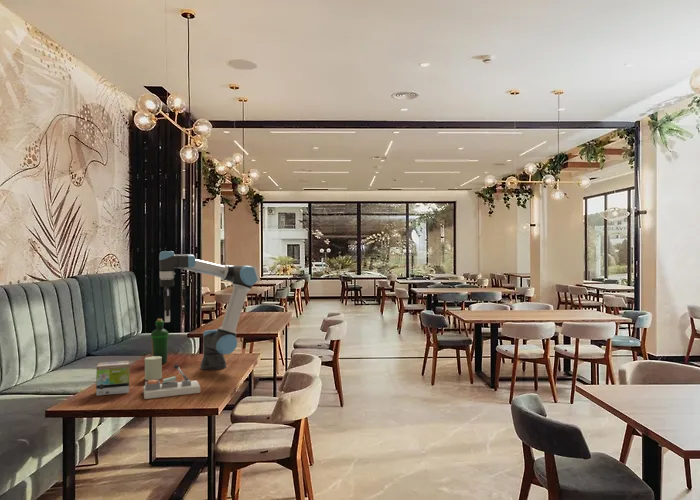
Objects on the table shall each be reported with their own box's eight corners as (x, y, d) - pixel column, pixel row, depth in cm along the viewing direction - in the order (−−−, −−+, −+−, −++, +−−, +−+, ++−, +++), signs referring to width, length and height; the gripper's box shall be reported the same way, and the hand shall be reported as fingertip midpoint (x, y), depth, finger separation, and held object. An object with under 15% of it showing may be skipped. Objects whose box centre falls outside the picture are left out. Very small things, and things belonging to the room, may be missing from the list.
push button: (157, 385, 257) (157, 379, 257) (157, 387, 252) (157, 381, 252) (147, 386, 255) (147, 380, 255) (147, 388, 250) (147, 382, 250)
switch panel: (196, 385, 269) (196, 374, 269) (200, 392, 256) (200, 380, 256) (143, 391, 258) (143, 380, 258) (144, 399, 245) (144, 386, 245)
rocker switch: (175, 378, 260) (175, 375, 260) (176, 379, 256) (175, 377, 256) (163, 381, 257) (162, 379, 257) (163, 383, 254) (163, 380, 254)
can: (156, 380, 281) (155, 358, 281) (141, 380, 283) (140, 358, 283) (165, 376, 290) (165, 355, 290) (150, 376, 292) (150, 355, 292)
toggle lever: (188, 377, 262) (176, 363, 259) (189, 378, 259) (177, 363, 257) (185, 380, 261) (172, 365, 259) (185, 381, 259) (173, 366, 256)
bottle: (162, 360, 335) (162, 317, 335) (172, 362, 328) (171, 318, 328) (147, 363, 326) (147, 319, 326) (157, 365, 320) (157, 320, 320)
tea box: (96, 396, 250) (95, 366, 251) (97, 391, 260) (96, 362, 260) (129, 393, 256) (129, 363, 257) (129, 388, 266) (129, 359, 266)
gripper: (175, 279, 277) (175, 323, 276) (173, 278, 288) (173, 320, 288) (160, 279, 273) (161, 323, 273) (158, 278, 285) (159, 321, 285)
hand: (167, 321), depth 281 cm, fingers closed
